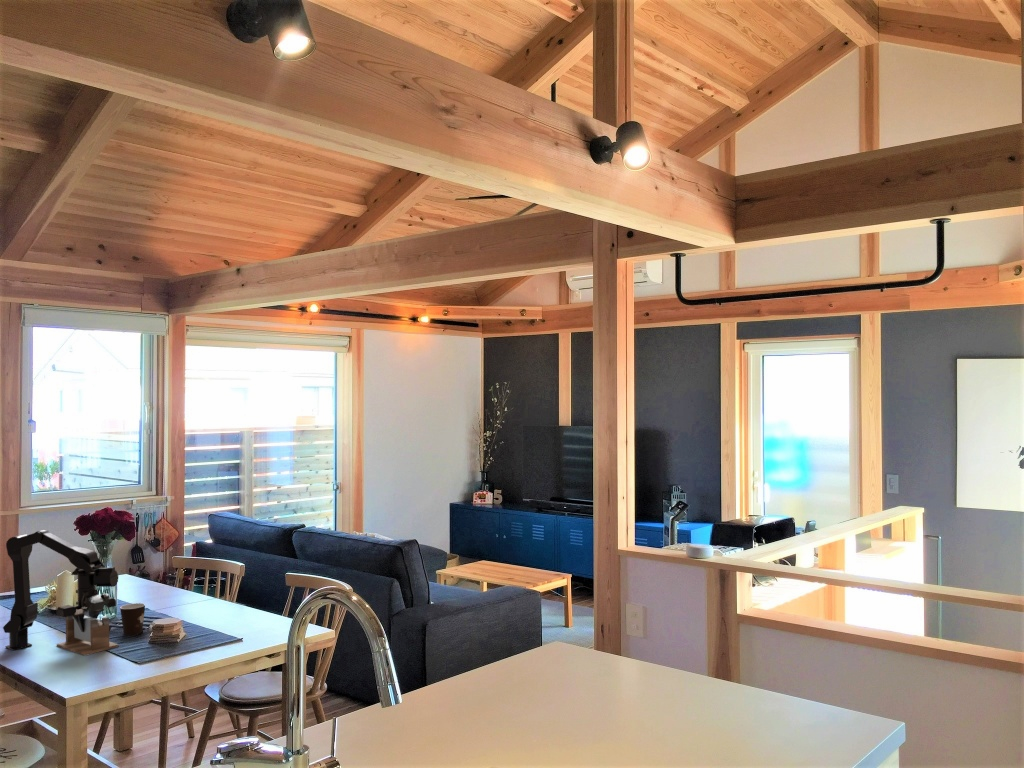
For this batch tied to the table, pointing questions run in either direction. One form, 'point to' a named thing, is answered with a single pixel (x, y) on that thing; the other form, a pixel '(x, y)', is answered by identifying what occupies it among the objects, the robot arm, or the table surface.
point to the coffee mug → (132, 618)
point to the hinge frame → (97, 638)
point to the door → (86, 634)
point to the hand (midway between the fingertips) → (87, 630)
